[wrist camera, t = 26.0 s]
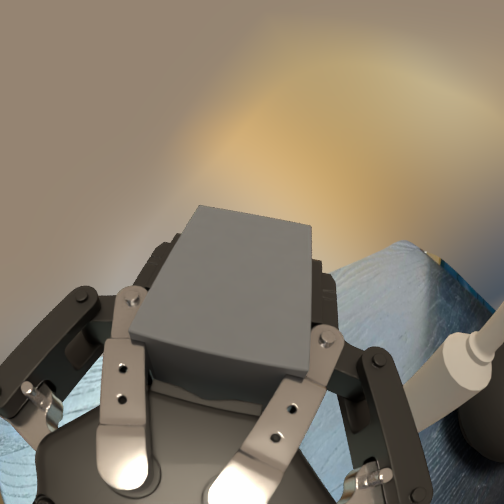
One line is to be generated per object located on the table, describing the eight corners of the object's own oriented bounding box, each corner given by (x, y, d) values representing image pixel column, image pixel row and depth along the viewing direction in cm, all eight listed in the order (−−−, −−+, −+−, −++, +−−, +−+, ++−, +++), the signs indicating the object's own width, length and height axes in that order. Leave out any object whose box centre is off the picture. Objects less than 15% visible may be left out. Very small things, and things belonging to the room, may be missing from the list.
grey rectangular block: (168, 431, 14) (126, 330, 7) (206, 314, 21) (211, 185, 14) (257, 451, 13) (309, 371, 7) (276, 328, 20) (311, 203, 14)
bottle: (343, 439, 26) (513, 266, 10) (368, 408, 29) (511, 232, 13) (376, 465, 23) (571, 318, 7) (399, 432, 26) (561, 274, 10)
